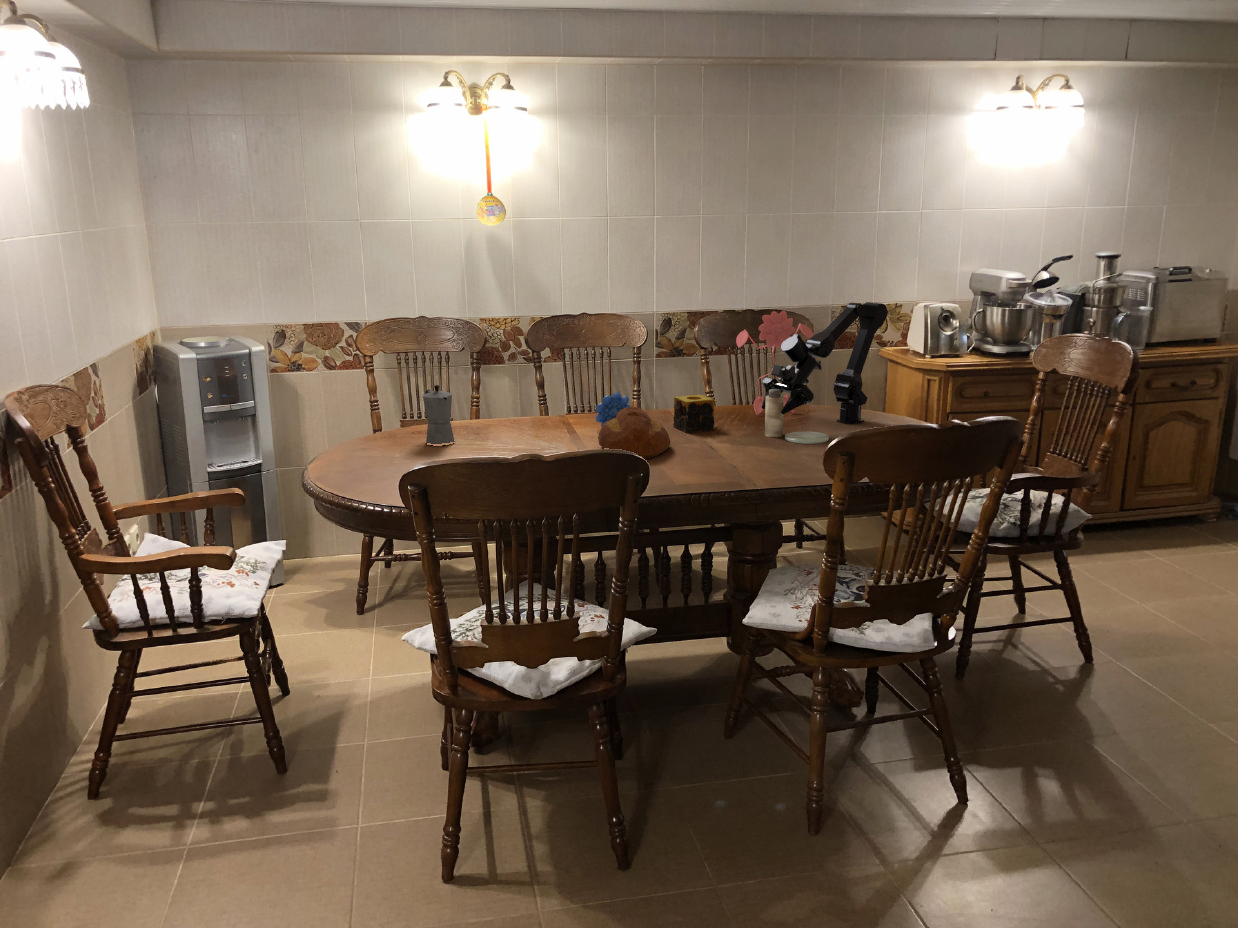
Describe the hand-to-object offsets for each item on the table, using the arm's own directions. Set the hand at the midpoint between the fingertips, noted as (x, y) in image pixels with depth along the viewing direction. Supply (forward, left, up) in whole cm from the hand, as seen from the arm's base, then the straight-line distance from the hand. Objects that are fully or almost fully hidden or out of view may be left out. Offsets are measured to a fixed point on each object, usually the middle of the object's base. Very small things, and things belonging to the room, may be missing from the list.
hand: (772, 411), depth 300 cm
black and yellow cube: (+12, -23, -8) cm, 27 cm away
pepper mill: (-1, 0, -8) cm, 8 cm away
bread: (+42, -13, -8) cm, 45 cm away
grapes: (+32, -39, -8) cm, 51 cm away
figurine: (-21, -20, -8) cm, 30 cm away
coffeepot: (+84, -58, -8) cm, 102 cm away
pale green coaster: (-5, +10, -8) cm, 14 cm away
